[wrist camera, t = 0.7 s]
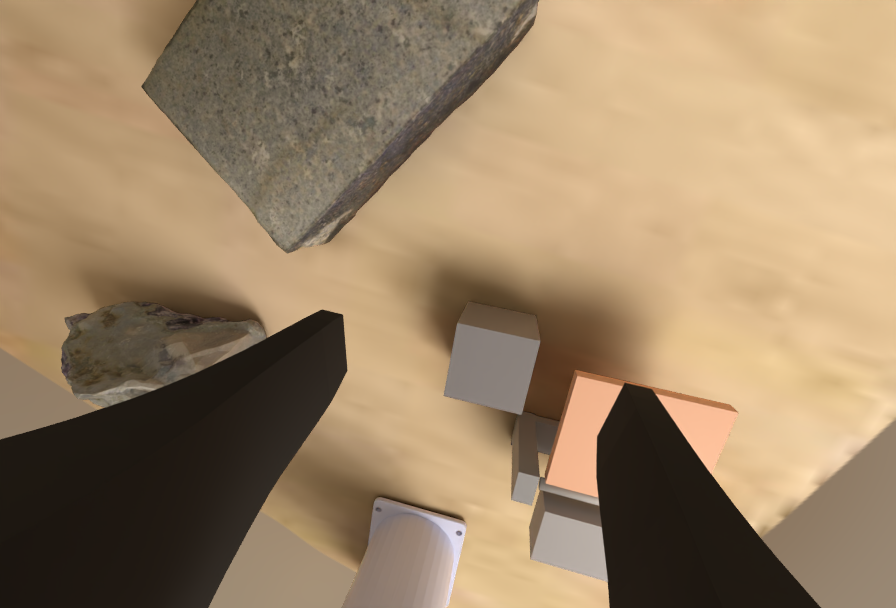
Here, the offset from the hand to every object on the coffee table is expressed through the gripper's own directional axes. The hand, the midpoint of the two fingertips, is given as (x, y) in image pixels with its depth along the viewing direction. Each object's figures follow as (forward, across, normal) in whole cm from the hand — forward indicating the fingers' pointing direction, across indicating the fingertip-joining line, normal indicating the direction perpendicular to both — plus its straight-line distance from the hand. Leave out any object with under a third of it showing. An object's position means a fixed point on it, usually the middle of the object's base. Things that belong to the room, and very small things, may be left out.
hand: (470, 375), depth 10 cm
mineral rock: (+12, +24, +15) cm, 30 cm away
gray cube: (+14, 0, +10) cm, 18 cm away
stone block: (+20, +13, -5) cm, 24 cm away
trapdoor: (+9, -9, +13) cm, 18 cm away
